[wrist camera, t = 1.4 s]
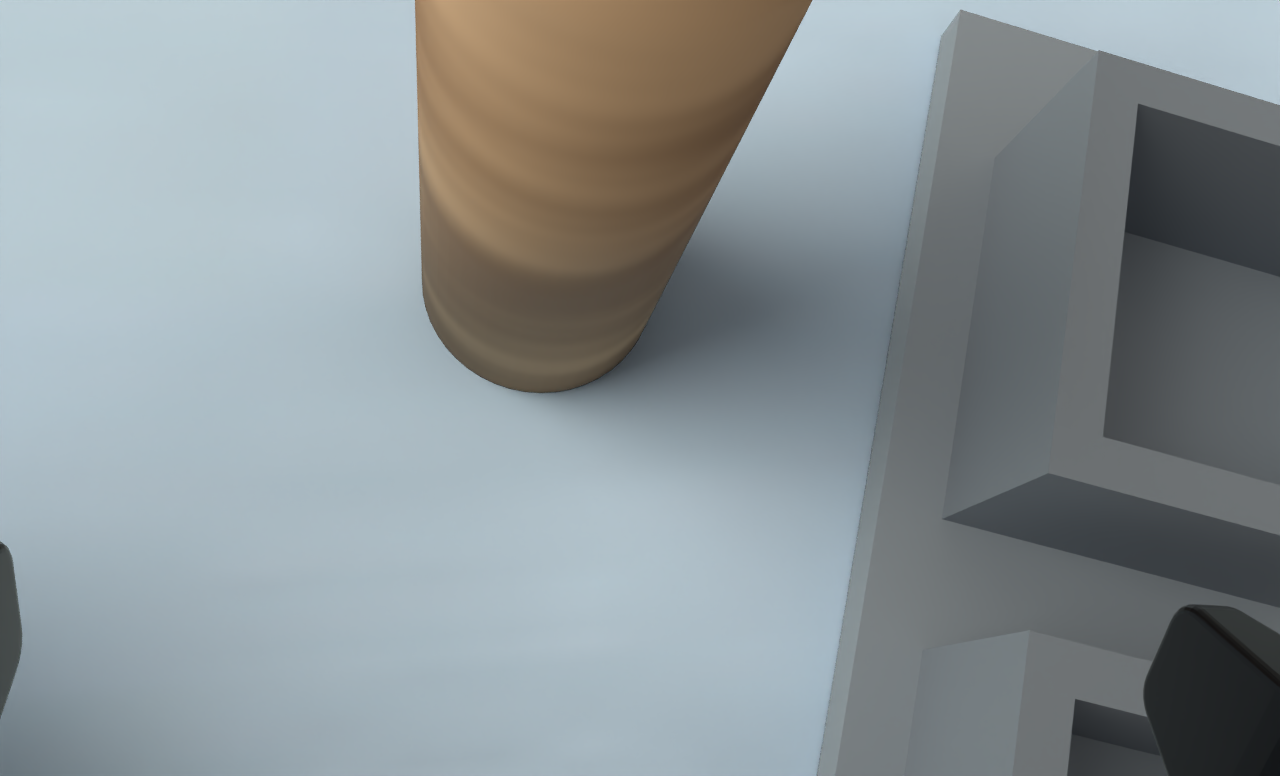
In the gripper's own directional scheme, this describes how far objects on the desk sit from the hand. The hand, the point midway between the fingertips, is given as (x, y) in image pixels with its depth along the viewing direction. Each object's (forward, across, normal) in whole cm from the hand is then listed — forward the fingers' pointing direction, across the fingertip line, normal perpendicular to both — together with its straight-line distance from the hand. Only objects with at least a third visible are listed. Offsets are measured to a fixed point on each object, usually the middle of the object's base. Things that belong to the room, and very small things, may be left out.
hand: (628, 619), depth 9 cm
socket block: (+10, -12, +7) cm, 17 cm away
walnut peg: (+14, 0, +3) cm, 14 cm away
